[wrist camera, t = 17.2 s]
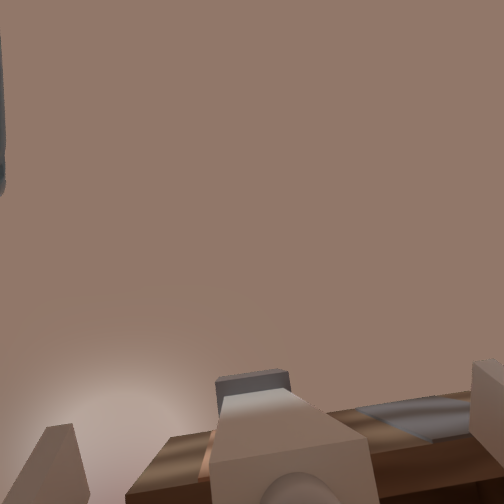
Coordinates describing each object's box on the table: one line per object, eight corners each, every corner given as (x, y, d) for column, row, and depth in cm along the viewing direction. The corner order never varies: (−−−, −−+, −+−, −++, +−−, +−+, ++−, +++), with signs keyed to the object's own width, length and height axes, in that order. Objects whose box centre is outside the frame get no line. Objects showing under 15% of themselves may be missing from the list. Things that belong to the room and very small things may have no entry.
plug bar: (463, 631, 7) (411, 401, 8) (191, 687, 7) (171, 439, 8) (284, 418, 32) (277, 368, 33) (224, 427, 32) (218, 377, 33)
